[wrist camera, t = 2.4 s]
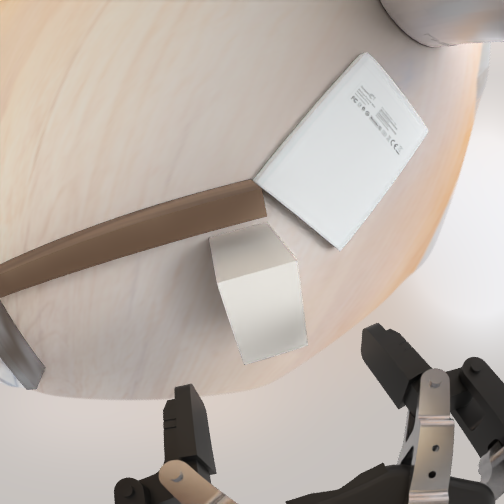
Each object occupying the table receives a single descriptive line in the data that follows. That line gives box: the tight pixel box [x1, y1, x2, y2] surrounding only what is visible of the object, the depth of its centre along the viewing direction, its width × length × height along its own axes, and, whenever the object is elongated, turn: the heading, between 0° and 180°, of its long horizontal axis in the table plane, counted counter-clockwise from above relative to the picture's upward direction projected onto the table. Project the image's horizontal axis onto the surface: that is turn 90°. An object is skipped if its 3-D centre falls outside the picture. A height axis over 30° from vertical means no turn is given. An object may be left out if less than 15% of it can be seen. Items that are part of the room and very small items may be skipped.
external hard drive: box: [253, 52, 428, 251], centre depth 18 cm, size 2×8×12 cm
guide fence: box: [0, 179, 267, 390], centre depth 17 cm, size 11×25×3 cm, turn 102°
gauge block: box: [209, 222, 308, 365], centre depth 17 cm, size 6×4×6 cm, turn 12°
